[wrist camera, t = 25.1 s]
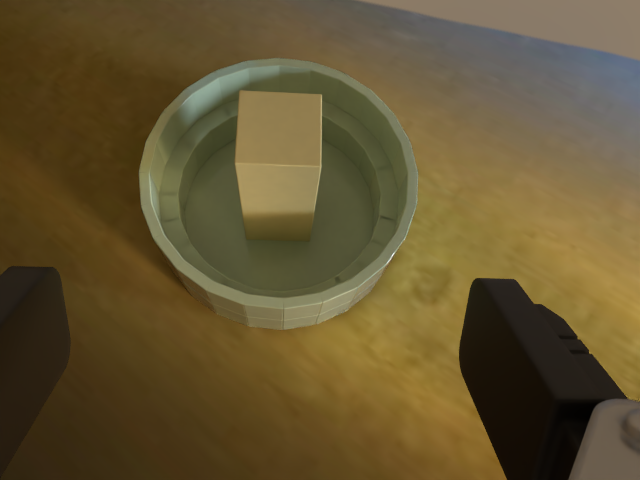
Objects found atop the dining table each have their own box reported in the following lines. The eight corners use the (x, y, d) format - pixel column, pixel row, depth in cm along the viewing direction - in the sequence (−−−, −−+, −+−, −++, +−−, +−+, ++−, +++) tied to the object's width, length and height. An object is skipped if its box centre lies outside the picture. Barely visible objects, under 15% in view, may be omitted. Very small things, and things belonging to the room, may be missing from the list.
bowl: (370, 103, 39) (386, 47, 34) (419, 310, 34) (447, 284, 29) (153, 126, 38) (131, 70, 32) (170, 349, 33) (148, 329, 27)
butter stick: (310, 184, 36) (321, 93, 27) (309, 241, 35) (321, 167, 26) (249, 182, 36) (239, 89, 27) (245, 239, 35) (233, 163, 25)
